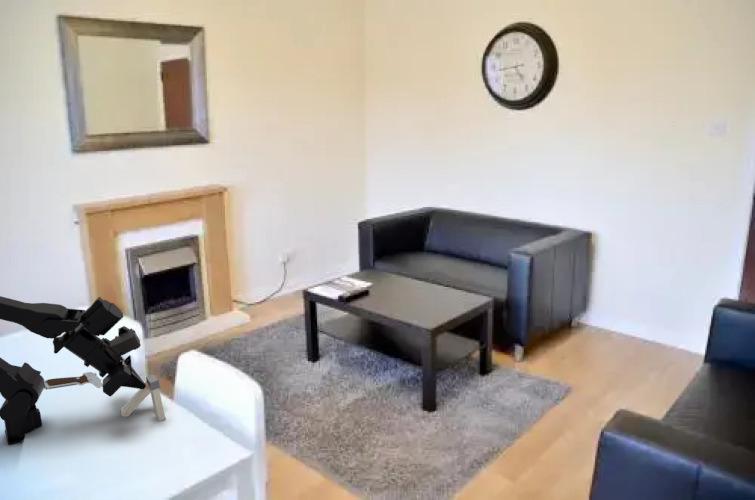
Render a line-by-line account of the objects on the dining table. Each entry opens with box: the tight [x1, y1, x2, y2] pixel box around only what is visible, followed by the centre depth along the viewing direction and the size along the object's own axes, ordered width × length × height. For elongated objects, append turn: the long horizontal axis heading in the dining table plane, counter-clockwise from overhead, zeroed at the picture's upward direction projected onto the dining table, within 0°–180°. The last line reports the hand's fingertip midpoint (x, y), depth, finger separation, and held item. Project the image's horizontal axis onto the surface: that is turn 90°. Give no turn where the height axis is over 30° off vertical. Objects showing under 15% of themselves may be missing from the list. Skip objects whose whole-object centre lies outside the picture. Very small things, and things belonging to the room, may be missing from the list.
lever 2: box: [145, 373, 166, 422], centre depth 137 cm, size 2×3×10 cm, turn 36°
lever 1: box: [120, 380, 151, 418], centre depth 141 cm, size 2×3×10 cm
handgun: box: [44, 371, 103, 390], centre depth 152 cm, size 2×23×12 cm
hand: (144, 387), depth 141 cm, fingers closed, pressing on lever 1
